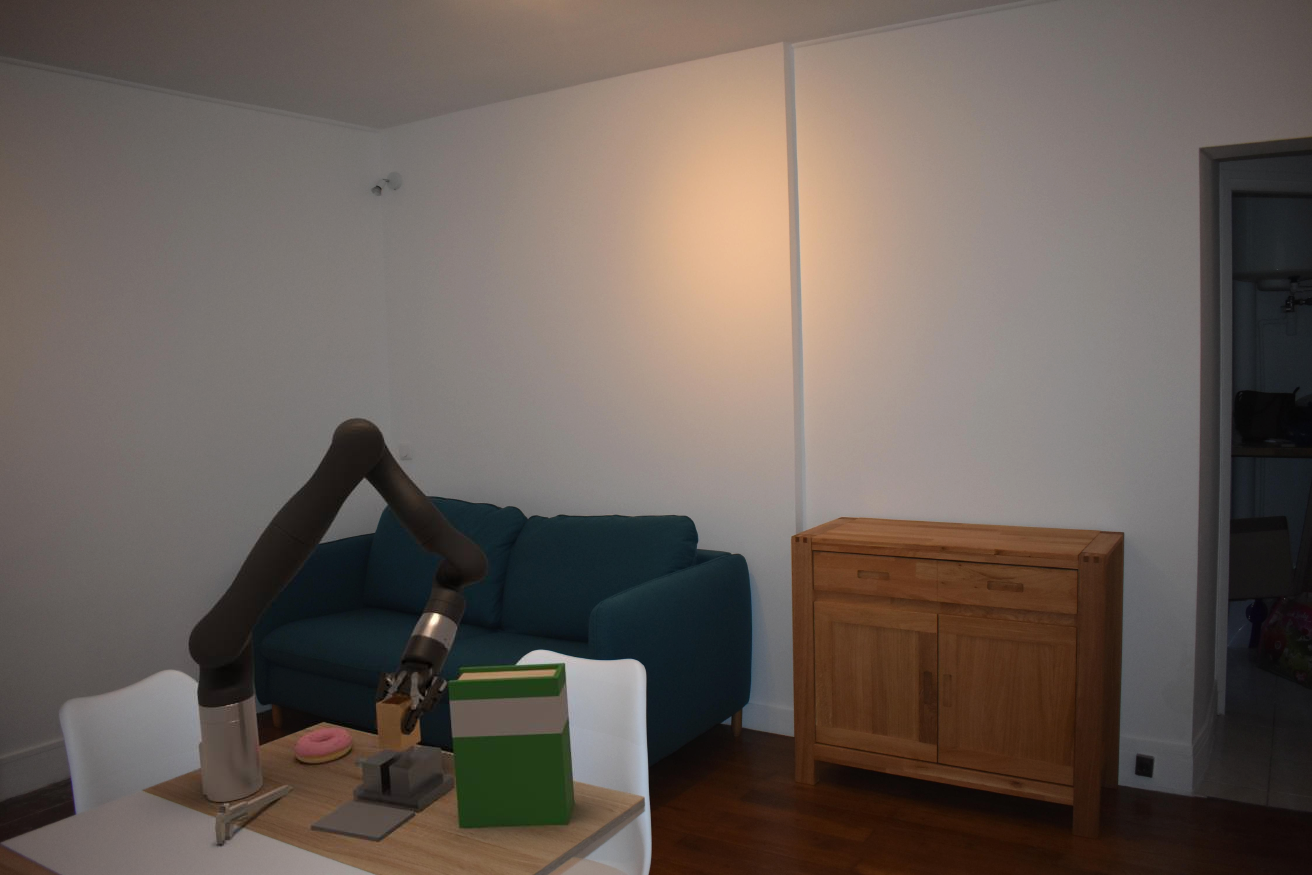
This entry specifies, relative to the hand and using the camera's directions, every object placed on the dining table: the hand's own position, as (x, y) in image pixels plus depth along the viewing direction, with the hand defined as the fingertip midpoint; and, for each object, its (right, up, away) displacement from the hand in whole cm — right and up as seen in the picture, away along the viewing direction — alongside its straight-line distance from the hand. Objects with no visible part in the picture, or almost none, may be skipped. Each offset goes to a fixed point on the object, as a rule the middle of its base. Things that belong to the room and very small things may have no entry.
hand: (392, 730), depth 157 cm
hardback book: (+23, -11, -8) cm, 27 cm away
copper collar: (+1, -3, +2) cm, 4 cm away
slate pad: (-3, -13, -7) cm, 15 cm away
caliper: (-22, -14, -2) cm, 26 cm away
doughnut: (-20, -12, +23) cm, 33 cm away
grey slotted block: (0, -12, +3) cm, 12 cm away
